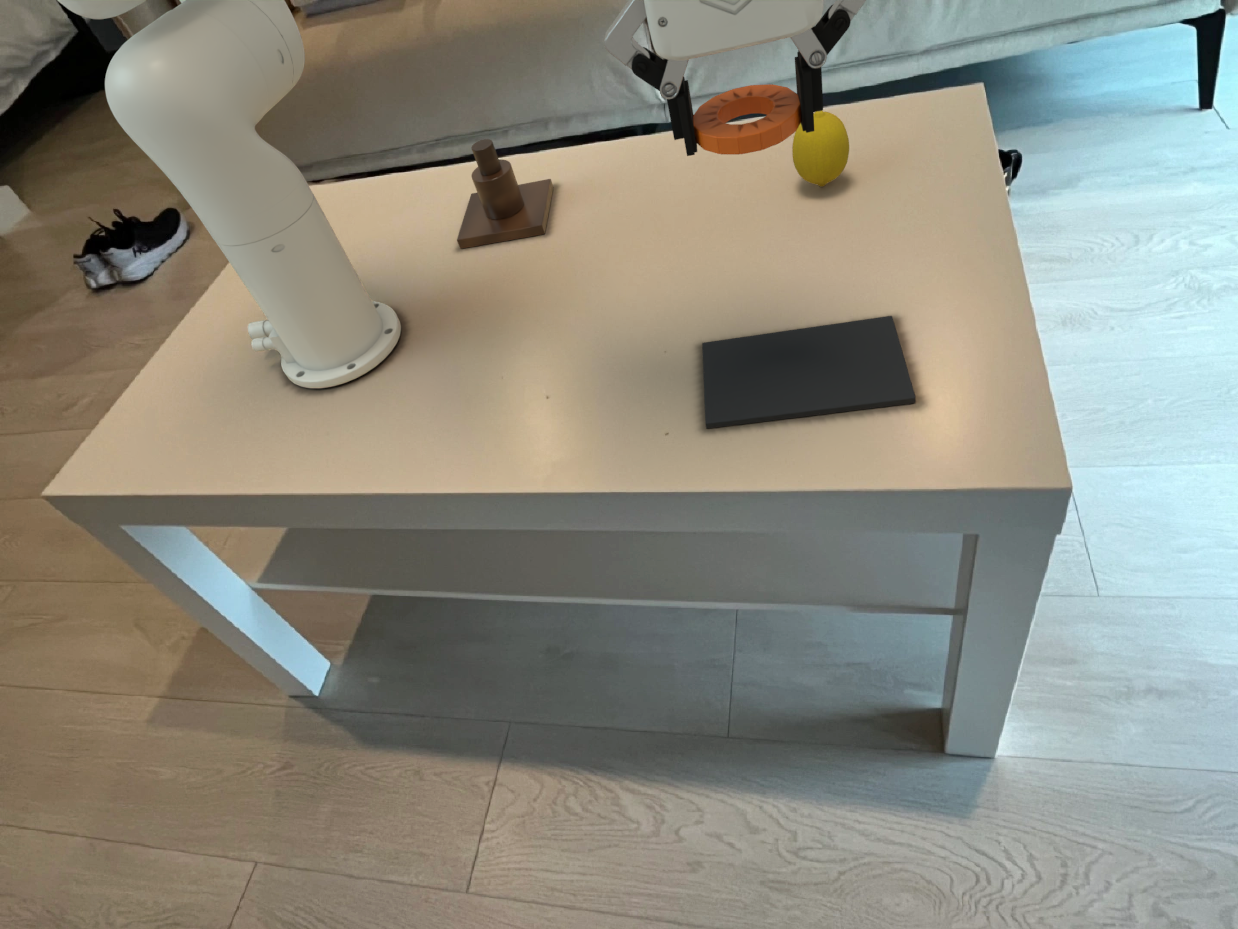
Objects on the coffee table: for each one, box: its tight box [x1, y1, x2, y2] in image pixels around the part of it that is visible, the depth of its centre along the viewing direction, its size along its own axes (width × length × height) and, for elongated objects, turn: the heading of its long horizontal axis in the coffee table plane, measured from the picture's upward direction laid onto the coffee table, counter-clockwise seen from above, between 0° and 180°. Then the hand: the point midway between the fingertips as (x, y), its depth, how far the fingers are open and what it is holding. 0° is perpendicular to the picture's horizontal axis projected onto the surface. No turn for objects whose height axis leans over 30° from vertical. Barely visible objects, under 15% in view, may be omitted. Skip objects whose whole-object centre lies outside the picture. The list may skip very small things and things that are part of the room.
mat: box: [701, 315, 917, 429], centre depth 67 cm, size 16×10×1 cm, turn 88°
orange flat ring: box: [693, 83, 801, 155], centre depth 54 cm, size 7×7×1 cm
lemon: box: [791, 110, 850, 188], centre depth 82 cm, size 6×6×8 cm
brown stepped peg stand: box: [456, 138, 554, 250], centre depth 91 cm, size 10×10×9 cm
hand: (748, 132), depth 55 cm, fingers closed on orange flat ring, 7 cm apart
